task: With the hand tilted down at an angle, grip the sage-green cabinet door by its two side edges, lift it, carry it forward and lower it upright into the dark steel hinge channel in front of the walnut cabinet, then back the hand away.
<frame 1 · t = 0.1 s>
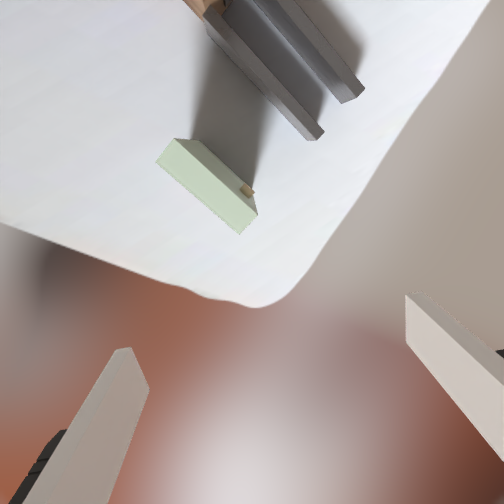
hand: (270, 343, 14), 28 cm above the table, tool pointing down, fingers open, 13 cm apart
cabinet door: (220, 172, 38), on the table
hinge channel: (297, 84, 35), on the table
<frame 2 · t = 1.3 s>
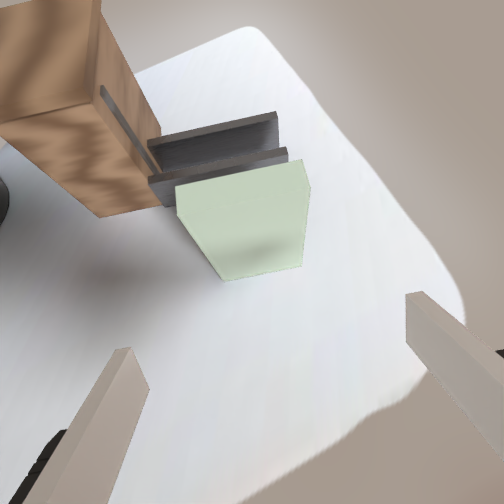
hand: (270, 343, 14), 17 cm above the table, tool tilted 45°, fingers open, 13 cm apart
walnut cabinet: (95, 121, 33), on the table
cabinet door: (260, 264, 33), on the table
hinge channel: (242, 169, 39), on the table
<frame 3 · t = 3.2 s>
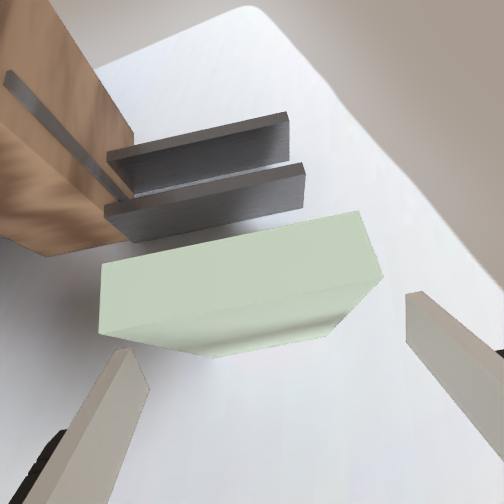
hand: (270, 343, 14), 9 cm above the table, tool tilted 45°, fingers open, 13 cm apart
walnut cabinet: (27, 127, 23), on the table
cabinet door: (266, 332, 23), on the table
hinge channel: (240, 189, 29), on the table
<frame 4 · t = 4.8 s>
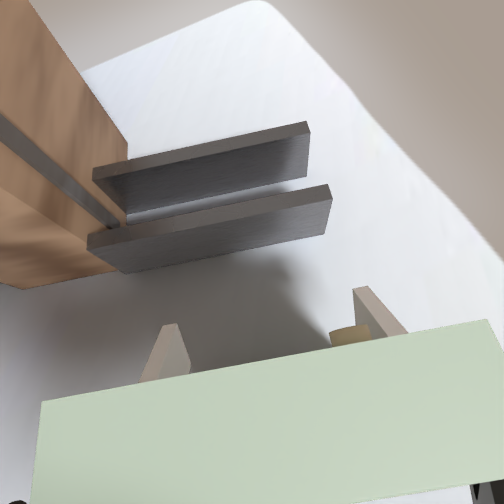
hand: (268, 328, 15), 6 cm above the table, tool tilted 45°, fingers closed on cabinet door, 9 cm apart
cabinet door: (283, 390, 19), on the table, touching gripper
hinge channel: (249, 211, 25), on the table
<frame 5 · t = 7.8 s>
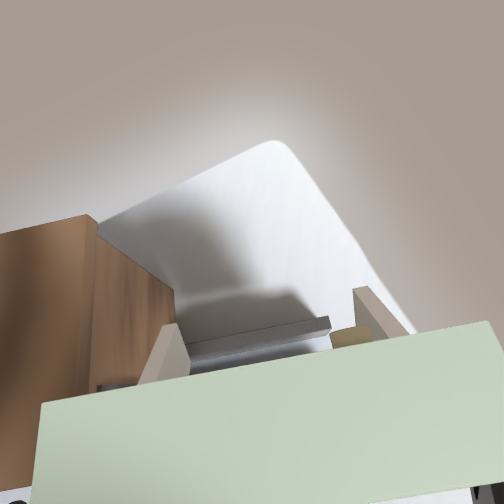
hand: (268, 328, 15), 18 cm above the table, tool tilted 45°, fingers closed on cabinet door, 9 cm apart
walnut cabinet: (91, 350, 25), on the table
cabinet door: (283, 391, 19), point 12 cm above the table, touching gripper
hinge channel: (280, 367, 30), on the table
when the fingers open (7 cm above the table, at t = 11.0 s): cabinet door drops 1 cm, resting in hinge channel.
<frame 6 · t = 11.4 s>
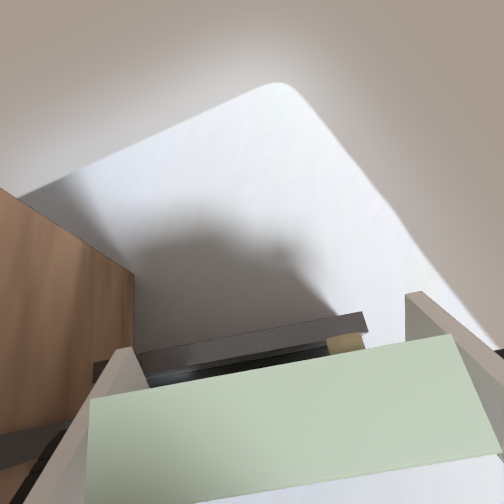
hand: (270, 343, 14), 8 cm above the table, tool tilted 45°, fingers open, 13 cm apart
cabinet door: (284, 390, 20), resting in hinge channel
hinge channel: (283, 389, 20), on the table
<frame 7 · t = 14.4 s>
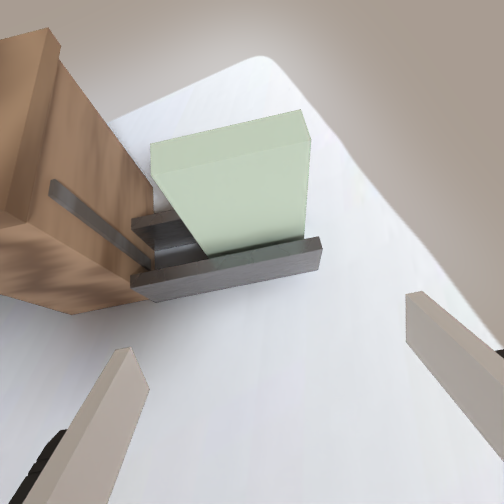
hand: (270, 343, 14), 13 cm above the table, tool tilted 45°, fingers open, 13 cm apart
walnut cabinet: (59, 203, 25), on the table
cabinet door: (257, 250, 30), resting in hinge channel
hinge channel: (256, 249, 30), on the table
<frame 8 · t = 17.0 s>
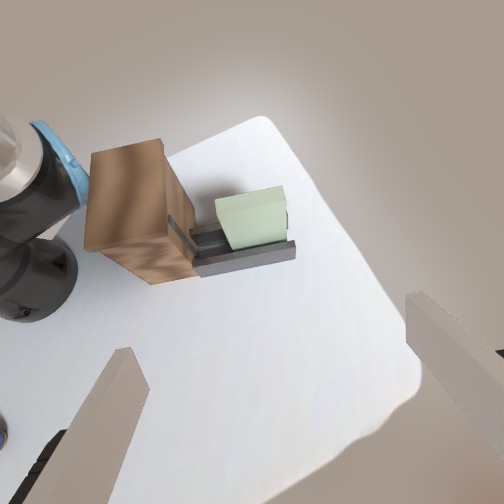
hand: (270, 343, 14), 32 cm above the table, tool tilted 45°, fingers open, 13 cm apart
walnut cabinet: (153, 221, 45), on the table
rubber mallet: (0, 440, 43), on the table
cabinet door: (260, 247, 51), resting in hinge channel
hinge channel: (260, 247, 51), on the table
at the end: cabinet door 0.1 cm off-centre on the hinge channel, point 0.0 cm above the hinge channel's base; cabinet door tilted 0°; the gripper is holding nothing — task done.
